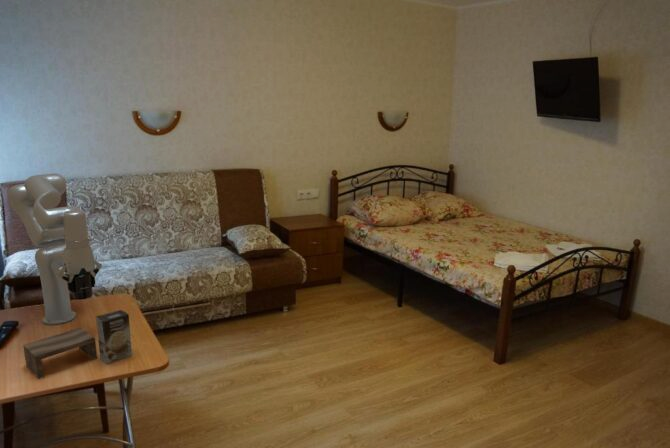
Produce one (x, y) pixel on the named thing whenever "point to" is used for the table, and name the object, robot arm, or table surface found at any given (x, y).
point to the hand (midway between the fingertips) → (82, 288)
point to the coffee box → (114, 336)
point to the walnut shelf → (58, 348)
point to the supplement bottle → (82, 285)
